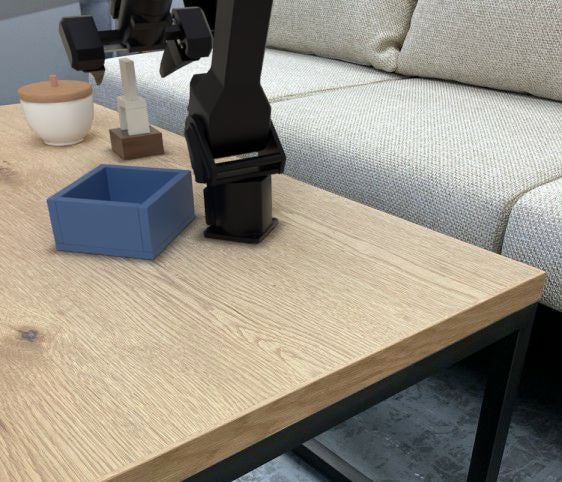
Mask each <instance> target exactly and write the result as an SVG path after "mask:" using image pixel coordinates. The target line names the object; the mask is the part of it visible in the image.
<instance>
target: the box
mask: <svg viewBox="0 0 562 482" xmlns="http://www.w3.org/2000/svg"><path fill="white" fill-rule="evenodd" d="M46 205H47V210H48V215H49V219H50V224H51V229H52V234H53V238H54V244H55V248H56V251H66V252H74V253H84V254H93V255H101V256H113V257H121V258H122V257H123V258H131V259H141V260H150V261H151V260H152V261H154V260H155V259H156V258H157V257H158V256H159V255H160V254H161V253H162V252H163V251H164V250H165V249H166V248H167V247H168V246H169V244H171V243H172V242H173V241H174V240H175V238H177V236H178V235H180V233H182V231H184V229H185V228H186V227H187V226H189V224H191V222H192V221H193V220H194V219H195V218H196V211H195V210H196V209H195V200H194V187H193V176H192V170H191V169H181V168H180V169H179V168H167V167H166V168H165V167H151V166H139V165H126V164H125V165H123V164H111V163H109V164H108V163H100V164H98V165H96V166H95V167H94V168H93V169H91V170H89V171H88V172H86V173H85V174H83V175H82V176H80V177H79V178H77V179H76V180H74V181H72V182H71V183H69V184H68V185H66V186H64V187H63V188H61V189H60V190H59V191H57V192H55V193H54V194H52V195H50V196H49V197H47V198H46Z"/></svg>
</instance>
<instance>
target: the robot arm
mask: <svg viewBox="0 0 562 482" xmlns="http://www.w3.org/2000/svg"><path fill="white" fill-rule="evenodd" d="M109 1H110V7H109V12H110V14H111V18H112V20H116V22H117V23H116V29H106V30H105V29H104V30H98V27H97V25H96V22H95V20H94V16H93V15H91V14H83V15H68V16H61V18H60V20H59V22H58V34H59V38H60V39H61V42H62V45H63V48H64V51H65V53H66V56H67V59H68V62H69V65H70V67H71V69H73V70H74V71H76V72H82V73H84V74H91V76H92V77H93V79H94V82H95V84H96V86H100V85H102V83H103V80H104V76H105V73H106V66H105V63H106V54H105V53H112V52H113V53H114V52H123V51H128V53H129V54H130V53H131V54H132V53H139V52H140V53H141V52H151V51H161V50H163V53H162V57H161V60H160V63H159V70H158V73H159V76H160V78H161V79H164V78H166V77H169V76H170V75H172V74H173V73H175V72H177V71H178V70H180V69H183V68H184V67H186V66H188V65H190V64H192V63H194V62H199V61H200V60H201V58H209V57H210V55H211V63H210V67H209V69H208V70H207V72H203V73H194V74H193V75H192V76H191V79H190V81H189V97H188V104H187V105H186V111H187V112H188V114H187V116H186V118H185V120H184V129H183V136H184V139H185V142H186V147H187V151H188V152H187V153H188V157H189V160H190V161H189V162H190V166H191V169H192V172H193V176H194V182H195V183H196V184H203V185H206V186H205V187H204V188H202V195H203V207H204V208H203V209H204V219H205V224H206V226H208V227H206V228H205V229H204V230H203V231H202V233H203V236H204V238H214V239H219V240H220V239H221V240H227V241H235V242H236V241H237V242H243V243H248V244H249V243H251V244H259V243H260V242H261V241H262V240H263V239H264V238H265V237H266V236H267V235H268V234H269V233H270V232H271V231H272V230H273V229H274V228H275V227H276V226H277V225H278V223H279V219H278V218H277V217H273V193H272V192H273V187H272V176H274V175H282V174H284V173H285V168H286V162H287V154H286V152H285V149H284V147H283V145H282V142H281V140H280V137H279V135H278V132H277V130H276V127H275V125H274V122H273V120H272V109H273V108H272V105H271V103H270V101H269V99H268V97H267V95H266V92H265V91H264V88H263V86H262V83H261V81H262V74H263V73H262V72H263V67H264V59H265V55H266V47H267V42H268V36H269V31H270V24H271V18H272V11H273V5H274V0H217V2H216V12H215V22H214V33H213V32H212V30H211V28H210V25H209V22H208V20H207V16H206V14H205V12H204V10H203V9H202V8H201V7H199V6H188V7H187V6H185V7H172V5H173V0H109ZM255 153H257V155H255V156H250V157H243V158H238V159H234V160H232V159H231V160H227V161H226V160H225V161H220V162H216V160H220V159H221V160H222V159H226V158H231V157H237V156H244V155H249V154H255Z"/></svg>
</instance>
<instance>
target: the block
mask: <svg viewBox="0 0 562 482" xmlns="http://www.w3.org/2000/svg"><path fill="white" fill-rule="evenodd" d="M149 130H150V133H144V134H138V135H131V136H130V135H128V130H122V129H121V128H120V127H114V128H109V129H108V133H109V140H110V147H111V150H112V151H113V152H114V153H115V154H116V155H118V156H119V157H120V158H121V159H123V160H124V161H128V160H134V159H141V158H146V157H147V158H148V157H152V156H159V155H164V154H165V148H164V139H163V132H161V131H160V130H158V129H156V128H155V127H153V126H152V125H150V124H149Z"/></svg>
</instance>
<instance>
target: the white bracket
mask: <svg viewBox="0 0 562 482" xmlns="http://www.w3.org/2000/svg"><path fill="white" fill-rule="evenodd" d="M118 65H119V73H120V79H121V88H122V95H119V96H116V97H115V99H116V104H117V112H118V120H119V128H121V129H122V130H128V135H130V136H131V135H138V134H144V133H150V130H149V125H150V121H149V114H148V105H147V104H148V103H147V99H145V98H143V97H142V96H140V95H139V93H138V92H139V91H138V86H137V76H136V68H135V61H134V60H132V59H130V58H128V57H121V58H118Z"/></svg>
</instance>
